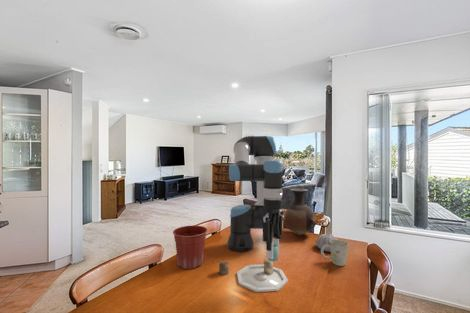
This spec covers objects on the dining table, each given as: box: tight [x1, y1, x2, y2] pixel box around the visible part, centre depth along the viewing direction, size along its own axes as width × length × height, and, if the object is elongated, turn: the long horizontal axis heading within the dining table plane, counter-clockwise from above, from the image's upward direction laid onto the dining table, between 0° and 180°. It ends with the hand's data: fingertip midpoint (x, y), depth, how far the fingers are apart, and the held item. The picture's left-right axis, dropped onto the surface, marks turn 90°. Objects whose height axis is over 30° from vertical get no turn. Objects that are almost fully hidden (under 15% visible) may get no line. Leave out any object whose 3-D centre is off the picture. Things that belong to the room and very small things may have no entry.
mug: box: [320, 239, 350, 267], centre depth 115 cm, size 8×13×10 cm, turn 78°
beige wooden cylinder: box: [263, 258, 274, 275], centre depth 103 cm, size 4×4×5 cm
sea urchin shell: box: [315, 233, 339, 253], centre depth 132 cm, size 13×14×8 cm
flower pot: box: [172, 225, 208, 270], centre depth 114 cm, size 16×16×16 cm
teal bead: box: [267, 245, 279, 262], centre depth 95 cm, size 4×4×5 cm
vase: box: [284, 188, 316, 236], centre depth 154 cm, size 23×19×30 cm
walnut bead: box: [218, 261, 229, 276], centre depth 103 cm, size 4×4×5 cm
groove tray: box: [236, 263, 289, 293], centre depth 99 cm, size 20×20×2 cm
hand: (272, 255), depth 95 cm, fingers closed on teal bead, 4 cm apart
